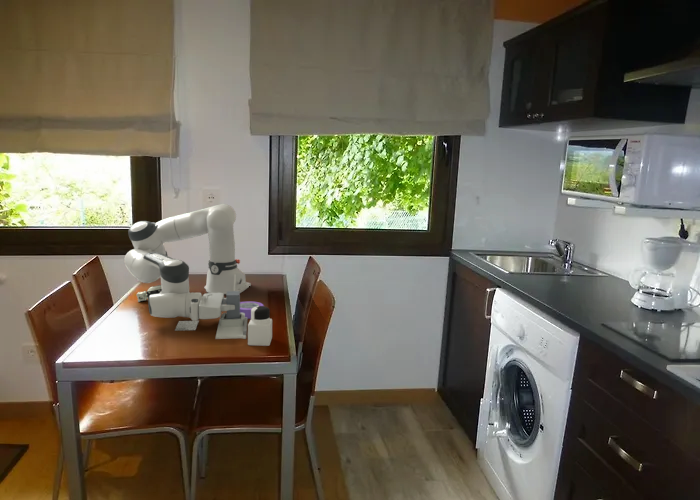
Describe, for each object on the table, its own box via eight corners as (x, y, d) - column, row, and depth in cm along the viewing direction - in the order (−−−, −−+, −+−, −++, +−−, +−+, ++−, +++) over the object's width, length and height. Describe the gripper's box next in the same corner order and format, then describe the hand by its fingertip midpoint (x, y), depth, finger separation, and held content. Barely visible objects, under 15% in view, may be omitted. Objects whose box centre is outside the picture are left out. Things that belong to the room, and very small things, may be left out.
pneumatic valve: (133, 295, 200) (164, 289, 202) (139, 288, 211) (168, 282, 213) (136, 308, 201) (167, 302, 203) (142, 300, 212) (171, 295, 214)
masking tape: (231, 311, 199) (231, 302, 198) (260, 309, 203) (260, 300, 202) (235, 320, 188) (235, 310, 187) (266, 318, 192) (266, 308, 191)
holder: (220, 320, 186) (220, 311, 186) (247, 319, 188) (247, 310, 188) (215, 339, 167) (215, 329, 166) (246, 338, 169) (246, 328, 168)
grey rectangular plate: (178, 321, 183) (179, 321, 183) (198, 321, 184) (198, 320, 184) (174, 331, 173) (174, 330, 173) (195, 330, 174) (195, 330, 174)
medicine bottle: (272, 338, 170) (272, 304, 168) (269, 346, 163) (269, 311, 161) (251, 337, 170) (251, 304, 168) (247, 345, 163) (247, 310, 161)
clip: (227, 319, 183) (227, 291, 181) (240, 319, 184) (239, 291, 182) (226, 324, 179) (226, 295, 177) (239, 324, 180) (239, 295, 177)
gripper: (199, 304, 188) (236, 304, 191) (192, 322, 169) (234, 321, 171) (199, 288, 187) (236, 288, 190) (191, 304, 167) (233, 304, 170)
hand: (235, 304), depth 180 cm, fingers closed on clip, 5 cm apart
